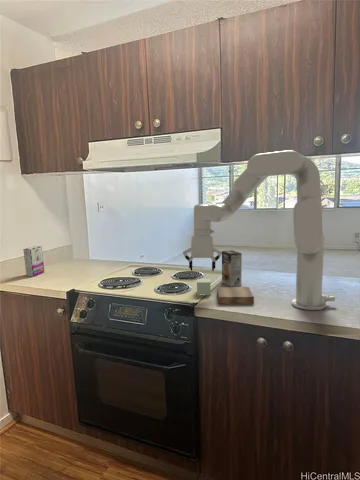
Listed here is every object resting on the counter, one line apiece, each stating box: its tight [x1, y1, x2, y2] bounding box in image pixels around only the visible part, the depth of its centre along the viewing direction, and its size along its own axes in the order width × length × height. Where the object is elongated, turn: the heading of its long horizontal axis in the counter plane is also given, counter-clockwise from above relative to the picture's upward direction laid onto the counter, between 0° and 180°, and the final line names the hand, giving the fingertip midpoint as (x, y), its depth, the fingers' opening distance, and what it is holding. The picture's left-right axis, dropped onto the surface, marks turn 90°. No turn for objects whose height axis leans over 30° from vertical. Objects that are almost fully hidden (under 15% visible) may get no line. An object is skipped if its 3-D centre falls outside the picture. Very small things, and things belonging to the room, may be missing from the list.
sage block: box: [196, 278, 212, 296], centre depth 148 cm, size 6×6×6 cm
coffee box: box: [221, 250, 243, 287], centre depth 161 cm, size 9×6×16 cm
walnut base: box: [216, 286, 255, 305], centre depth 140 cm, size 14×14×3 cm
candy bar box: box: [23, 245, 45, 278], centre depth 193 cm, size 11×5×16 cm, turn 170°
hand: (202, 270), depth 147 cm, fingers open, 9 cm apart
